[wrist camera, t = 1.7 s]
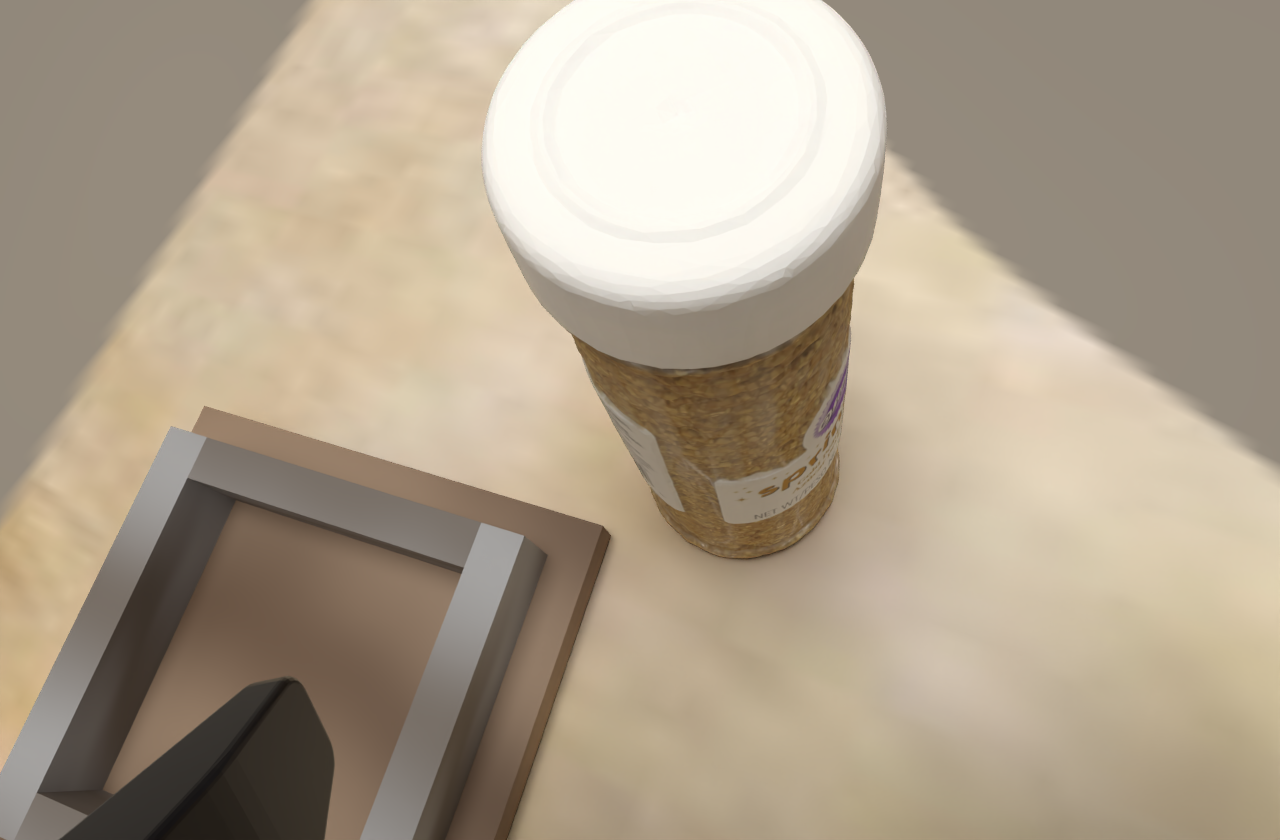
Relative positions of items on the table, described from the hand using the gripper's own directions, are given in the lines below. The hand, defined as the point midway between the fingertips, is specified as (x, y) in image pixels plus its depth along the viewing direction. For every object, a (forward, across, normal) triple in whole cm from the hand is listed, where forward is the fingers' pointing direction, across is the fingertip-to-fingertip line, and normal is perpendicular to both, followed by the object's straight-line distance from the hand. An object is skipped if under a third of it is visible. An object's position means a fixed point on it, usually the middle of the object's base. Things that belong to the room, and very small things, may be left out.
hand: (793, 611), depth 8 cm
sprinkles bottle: (+14, 0, +6) cm, 15 cm away
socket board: (+11, +11, +8) cm, 17 cm away
